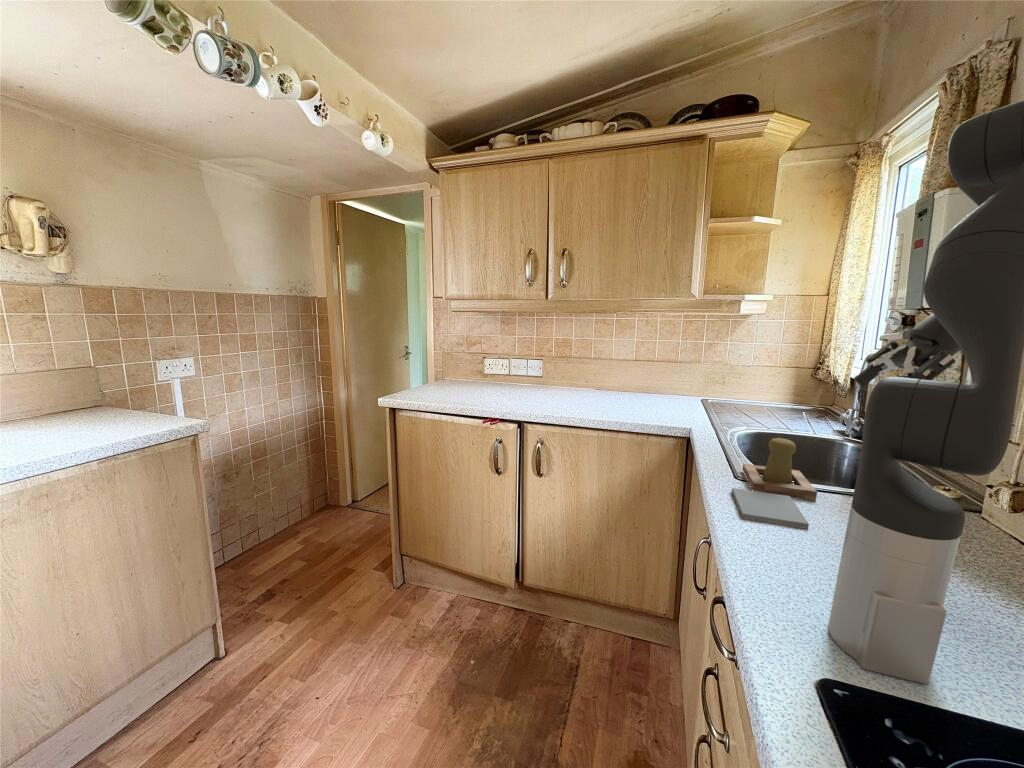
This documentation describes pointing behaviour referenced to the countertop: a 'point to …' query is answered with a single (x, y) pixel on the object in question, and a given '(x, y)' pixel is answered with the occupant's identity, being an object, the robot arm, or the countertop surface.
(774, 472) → the cork
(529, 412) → the countertop surface
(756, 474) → the walnut socket
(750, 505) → the slate pad
